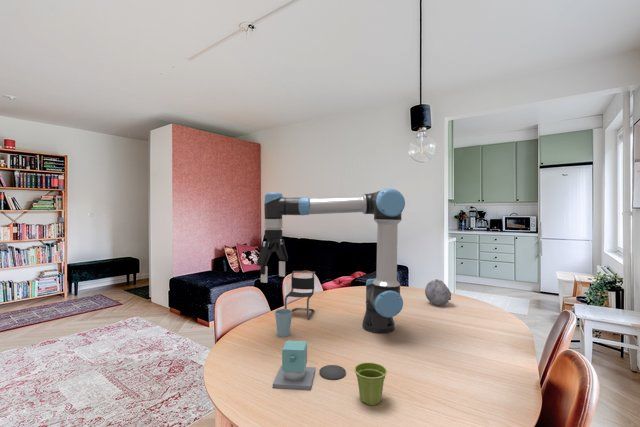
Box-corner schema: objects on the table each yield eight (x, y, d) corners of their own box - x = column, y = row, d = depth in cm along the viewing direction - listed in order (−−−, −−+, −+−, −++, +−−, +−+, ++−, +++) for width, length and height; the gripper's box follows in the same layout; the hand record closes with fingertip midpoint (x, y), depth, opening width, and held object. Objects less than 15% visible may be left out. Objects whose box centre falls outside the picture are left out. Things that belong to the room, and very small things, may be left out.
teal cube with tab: (286, 361, 108) (286, 340, 108) (307, 362, 107) (307, 341, 107) (280, 374, 99) (280, 351, 99) (303, 375, 98) (303, 352, 98)
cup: (294, 336, 140) (294, 312, 140) (277, 339, 137) (277, 314, 137) (289, 330, 147) (289, 308, 147) (273, 333, 144) (272, 310, 144)
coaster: (346, 367, 111) (346, 365, 111) (345, 380, 102) (345, 378, 102) (320, 366, 112) (320, 364, 112) (317, 379, 103) (317, 377, 103)
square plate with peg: (315, 370, 109) (315, 344, 109) (310, 390, 97) (310, 360, 97) (281, 368, 110) (281, 343, 110) (272, 387, 98) (272, 358, 98)
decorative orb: (455, 308, 180) (455, 282, 180) (429, 308, 180) (429, 282, 180) (445, 301, 194) (445, 277, 194) (421, 301, 195) (421, 277, 195)
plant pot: (351, 391, 97) (351, 362, 97) (381, 389, 97) (381, 361, 97) (357, 410, 87) (357, 378, 87) (391, 408, 88) (391, 377, 88)
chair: (315, 310, 177) (315, 271, 177) (308, 320, 160) (308, 277, 160) (293, 309, 179) (293, 270, 179) (284, 319, 162) (284, 276, 162)
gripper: (281, 227, 147) (281, 273, 147) (247, 230, 125) (247, 284, 125) (295, 228, 144) (295, 274, 144) (263, 230, 121) (263, 286, 121)
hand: (273, 279), depth 134 cm, fingers open, 13 cm apart
